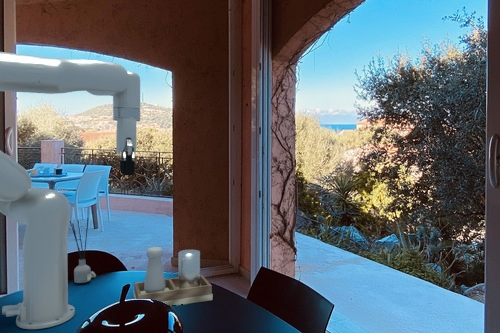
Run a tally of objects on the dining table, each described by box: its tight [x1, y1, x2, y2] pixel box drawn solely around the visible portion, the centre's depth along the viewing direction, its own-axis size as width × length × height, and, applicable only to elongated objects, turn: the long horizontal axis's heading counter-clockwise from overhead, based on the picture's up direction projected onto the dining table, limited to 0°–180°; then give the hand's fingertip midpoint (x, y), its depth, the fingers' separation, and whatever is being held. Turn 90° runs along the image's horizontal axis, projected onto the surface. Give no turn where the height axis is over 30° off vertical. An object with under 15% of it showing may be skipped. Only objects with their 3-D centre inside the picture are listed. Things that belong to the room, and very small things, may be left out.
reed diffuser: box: [69, 218, 97, 284], centre depth 117 cm, size 10×7×20 cm
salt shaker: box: [144, 246, 166, 293], centre depth 102 cm, size 6×6×13 cm
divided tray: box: [132, 273, 214, 307], centre depth 104 cm, size 20×11×4 cm, turn 113°
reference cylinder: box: [177, 249, 201, 289], centre depth 106 cm, size 6×6×11 cm
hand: (127, 174), depth 109 cm, fingers open, 9 cm apart
